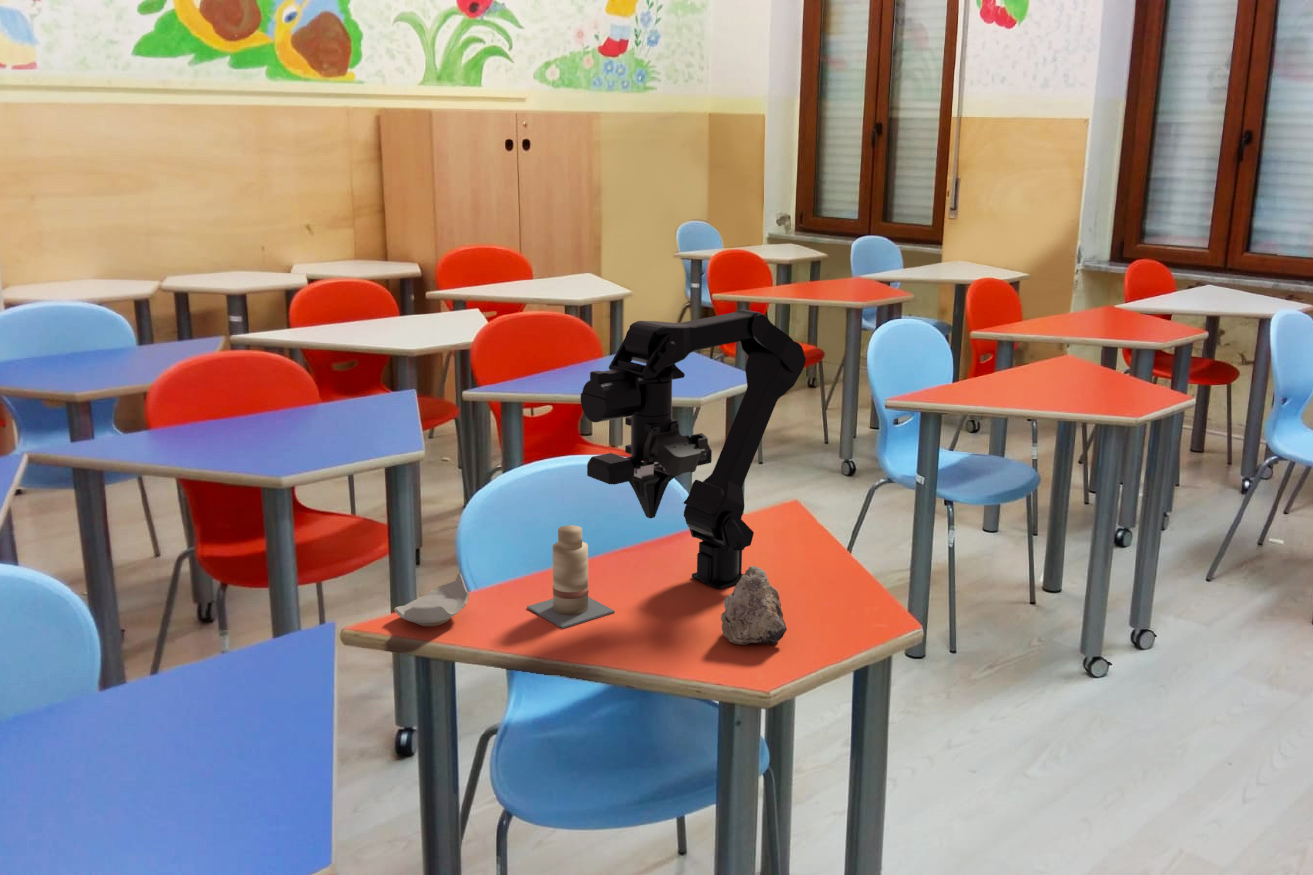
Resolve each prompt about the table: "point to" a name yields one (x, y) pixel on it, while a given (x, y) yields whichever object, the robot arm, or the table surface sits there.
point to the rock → (753, 611)
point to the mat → (566, 621)
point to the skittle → (570, 572)
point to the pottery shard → (436, 604)
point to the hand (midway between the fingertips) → (650, 517)
